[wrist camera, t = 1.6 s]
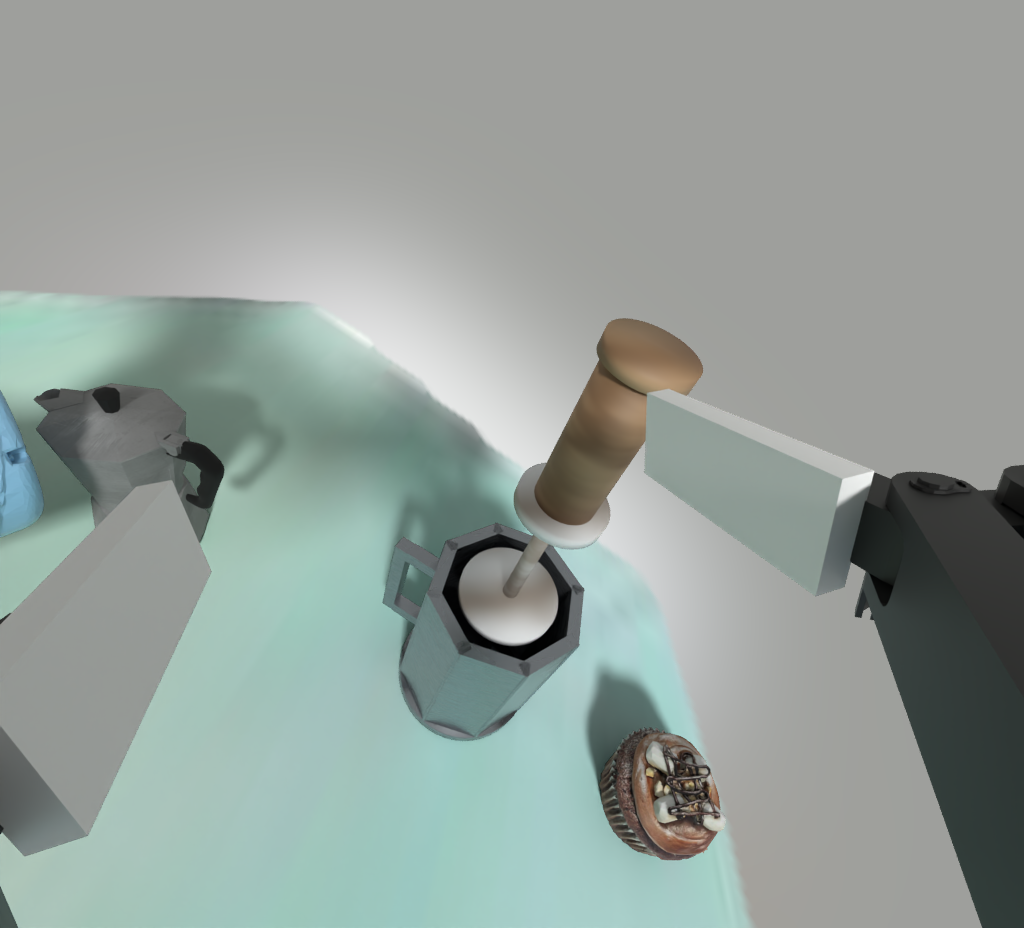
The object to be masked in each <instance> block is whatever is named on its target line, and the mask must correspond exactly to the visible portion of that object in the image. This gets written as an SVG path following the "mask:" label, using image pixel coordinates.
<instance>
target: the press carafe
mask: <svg viewBox="0 0 1024 928" xmlns="http://www.w3.org/2000/svg"><path fill="white" fill-rule="evenodd" d="M531 538H532V536H531V535H529V534H526V533H523V532H520V531H517V530H515V529H512V528H509V527H506V526H503V525H501V524H498V523H495V524H493V525H490V526H487V527H484V528H482V529H479V530H476V531H473V532H470V533H468V534H465V535H462V536H459V537H456V538H454V539H451V540H447V541H446V542H445V544H444V547H443V550H442V553H441V556H440V559H439V558H438V557H436V556H434V555H433V554H431V553H430V552H428V551H426V550H425V549H423V548H422V547H420V546H419V545H417V544H414V543H413V542H411V541H409V540H408V539H406V538H405V537H403V538H402V539H401V540H400V541H399V542H398V544H397V545H396V546H395V549H394V553H393V558H392V562H391V566H390V571H389V575H388V580H387V584H386V589H385V593H384V598H383V602H382V603H383V604H385V605H387V606H388V607H390V608H391V609H392V610H393V611H395V612H396V613H398V614H399V615H401V616H402V617H404V618H405V619H407V620H408V621H410V622H412V623H413V624H415V626H414V628H413V629H412V631H411V632H410V634H409V635H408V637H407V640H406V642H405V644H404V647H403V650H402V653H401V657H400V662H399V682H400V687H401V692H402V694H403V697H404V700H405V702H406V704H407V706H408V708H409V709H410V711H411V712H412V714H413V715H414V716H415V718H416V719H417V720H418V721H419V722H420V723H421V724H422V725H424V726H425V727H426V728H427V729H429V730H430V731H432V732H434V733H435V734H437V735H440V736H442V737H444V738H448V739H452V740H459V741H469V740H476V739H481V738H484V737H486V736H489V735H491V734H493V733H494V732H496V731H498V730H499V729H500V728H502V727H503V726H504V725H505V724H506V723H507V722H508V721H509V720H510V719H511V718H512V717H513V716H514V714H515V713H516V712H517V710H519V709H520V708H521V707H522V706H523V705H524V704H525V703H526V701H527V700H528V699H529V698H530V697H531V696H532V695H533V694H534V693H535V692H536V691H537V690H538V689H539V688H540V687H541V686H542V685H543V684H544V683H545V682H546V680H547V679H548V678H549V677H550V676H551V675H552V674H553V673H554V672H555V671H556V670H557V669H558V668H559V667H560V666H561V665H562V664H563V663H564V662H565V661H566V660H567V658H568V657H569V656H570V655H571V654H572V653H573V652H574V651H575V650H576V649H577V648H578V647H579V636H580V625H581V614H582V604H583V593H584V591H585V590H584V588H583V587H582V586H581V585H580V583H579V582H578V580H577V579H576V578H575V576H574V575H573V574H572V572H571V571H570V569H569V568H568V567H567V565H566V564H565V562H564V561H563V560H562V558H561V557H560V555H559V554H558V553H557V551H556V550H555V549H554V547H553V546H552V545H550V544H548V546H547V547H546V549H545V551H544V552H543V554H542V555H541V557H540V559H539V560H538V562H539V563H540V564H541V565H542V566H543V567H544V568H545V569H546V570H547V572H548V573H549V575H550V576H551V578H552V580H553V582H554V584H555V587H556V590H557V595H558V609H557V614H556V616H555V619H554V621H553V623H552V624H551V626H550V627H549V628H548V629H547V631H546V632H545V633H544V634H543V635H542V636H541V637H540V638H538V639H537V640H535V641H533V642H531V643H529V644H525V645H520V646H507V645H501V644H497V643H495V642H492V641H490V640H488V639H486V638H484V637H483V636H482V635H480V634H479V633H478V632H476V631H475V630H474V629H473V628H472V627H471V625H470V624H469V623H468V622H467V620H466V619H465V617H464V615H463V613H462V611H461V608H460V605H459V601H458V584H459V580H460V577H461V575H462V573H463V570H464V568H465V567H466V565H467V563H468V562H469V561H470V560H471V559H472V558H473V557H474V556H476V555H477V554H479V553H480V552H483V551H485V550H488V549H492V548H511V549H515V550H519V551H521V552H524V550H525V549H526V547H527V545H528V543H529V541H530V540H531ZM410 564H411V565H412V566H414V567H415V568H417V569H419V570H420V571H422V572H423V573H425V574H426V575H428V576H430V577H431V578H433V579H432V581H431V584H430V587H429V590H428V592H426V595H425V597H424V600H423V603H422V606H421V607H419V606H418V605H416V604H415V603H413V602H412V601H410V600H408V599H407V598H405V597H404V596H402V595H401V594H402V590H403V587H404V583H405V579H406V576H407V572H408V569H409V565H410Z"/></svg>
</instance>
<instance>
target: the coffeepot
mask: <svg viewBox="0 0 1024 928" xmlns="http://www.w3.org/2000/svg"><path fill="white" fill-rule="evenodd" d="M34 401H36V402H37V403H38V404H39V405H41V406H42V407H43V408H44V409H46V410H47V411H48V412H49V413H48V414H47V415H46V417H45V418H44V419H43V421H42V422H41V423H40V425H39V426H38V427H37V428H36V430H37V432H38V433H39V434H40V435H41V436H42V437H43V439H44V440H45V441H46V442H47V443H48V444H49V446H50V447H51V448H52V449H53V450H54V452H55V453H56V454H57V455H58V456H59V457H60V459H61V460H62V461H63V462H64V463H65V465H66V466H67V467H68V468H69V469H70V470H71V472H72V473H73V474H74V475H75V476H76V478H77V479H78V480H79V481H80V482H81V483H82V485H83V486H84V487H85V488H86V489H87V490H88V492H89V493H90V494H91V495H92V497H91V503H92V510H93V517H94V523H95V528H96V527H97V526H98V525H99V524H100V523H101V522H102V521H103V520H104V519H105V518H106V517H107V516H108V515H109V514H110V513H111V512H112V511H113V510H114V509H115V508H116V507H117V506H118V505H119V504H120V503H121V502H122V501H123V500H124V499H125V498H126V497H127V496H128V495H129V494H130V493H131V492H132V490H133V489H134V488H135V487H137V486H142V485H148V484H153V483H159V482H164V481H170V480H172V481H173V484H174V486H175V488H176V490H177V493H178V495H179V497H180V500H181V502H182V504H183V507H184V509H185V511H186V514H187V516H188V518H189V520H190V523H191V525H192V527H193V530H194V532H195V534H196V537H197V539H198V541H199V543H200V541H201V538H202V536H203V533H204V531H205V528H206V523H207V521H208V518H209V513H208V512H207V510H206V509H207V508H209V507H210V506H211V505H212V503H213V501H214V498H215V495H216V493H217V490H218V488H219V485H220V482H221V480H222V478H223V475H224V466H223V464H222V463H221V461H220V460H219V459H218V458H217V457H216V456H215V455H214V454H213V453H212V452H211V451H210V450H209V449H208V448H207V447H206V446H204V445H202V444H199V443H195V442H190V441H189V437H186V421H185V415H186V412H185V411H183V410H182V409H181V408H180V407H179V406H178V405H177V404H176V403H175V402H174V401H173V400H172V399H171V398H170V397H169V396H167V395H166V394H165V393H164V392H163V391H162V390H160V389H152V388H144V387H136V386H128V385H120V384H108V385H105V386H101V387H98V388H94V389H91V390H87V391H78V390H69V389H60V390H59V389H51V390H48V391H45V392H44V393H42V395H40V396H36V398H34ZM186 461H189V462H192V463H194V464H195V465H196V466H197V467H198V468H199V469H200V470H201V473H200V480H201V483H200V485H199V486H198V488H197V492H198V495H199V496H198V495H197V494H196V492H195V490H194V489H193V487H192V485H191V484H190V482H189V481H188V479H187V478H186V477H185V476H184V475H183V471H184V468H185V465H186Z"/></svg>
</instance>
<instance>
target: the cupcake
mask: <svg viewBox="0 0 1024 928" xmlns="http://www.w3.org/2000/svg"><path fill="white" fill-rule="evenodd" d="M599 787H600V789H601V792H602V793H601V798H602V804H603V809H604V812H605V815H606V817H607V819H608V821H609V825H610V826H611V827H612V829H613V832H615V833H616V835H617V836H618V837H619V838H620V839H622V841H623V842H624V843H626V844H628V845H629V846H630V847H631V848H632V849H634V850H636V851H638V852H641V853H645V854H648V855H651V856H657V857H659V858H660V859H662V860H682V859H688V858H691V857H693V856H695V855H696V854H699V853H701V852H703V853H704V851H705V850H707V847H708V846H709V844H710V843H711V841H712V840H713V838H714V837H715V836H716V834H717V833H718V831H721V830H723V828H724V826H725V821H726V818H725V815H724V814H723V813H722V812H721V811H720V804H719V796H718V792H717V789H716V786H715V783H714V780H713V777H712V775H711V772H710V768H709V767H708V766H707V764H706V761H705V760H704V758H703V757H702V756H701V754H700V753H699V752H698V751H697V749H696V748H695V747H694V746H693V745H692V744H691V743H690V742H689V741H687V740H686V739H685V738H683V737H681V736H678V735H674V734H671V733H665V732H664V730H662V732H661V733H660V731H659V730H658V729H657V728H656V729H655V730H653V729H652V728H651V727H649V728H648V729H646V728H645V727H644V728H643V730H642V729H639V730H638V732H635V731H633V732H632V733H631V734H628V736H627V737H626V738H625V739H624V738H623V740H622V742H621V744H620V745H619V746H618V748H617V750H616V752H615V753H614V754H613V756H612V757H611V758H610V759H609V760H608V761H607V763H606V764H605V768H604V770H603V772H602V773H601V782H600V784H599Z"/></svg>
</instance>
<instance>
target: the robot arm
mask: <svg viewBox="0 0 1024 928" xmlns="http://www.w3.org/2000/svg"><path fill="white" fill-rule="evenodd" d="M644 472H645V473H646V474H647V475H648V476H650V477H651V478H652V479H654V480H655V481H657V482H658V483H659V484H661V485H662V486H663V487H665V488H666V489H668V490H669V491H670V492H672V493H673V494H674V495H676V496H677V497H679V498H680V499H681V500H683V501H684V502H686V503H687V504H688V505H690V506H691V507H693V508H694V509H695V510H697V511H698V512H699V513H701V514H702V515H704V516H705V517H706V518H708V519H709V520H710V521H712V522H713V523H715V524H716V525H717V526H719V527H720V528H722V529H723V530H725V531H726V532H727V533H728V534H730V535H731V536H733V537H734V538H735V539H737V540H738V541H740V542H741V543H742V544H744V545H745V546H747V547H748V548H749V549H751V550H752V551H753V552H755V553H756V554H758V555H759V556H760V557H762V558H763V559H765V560H766V561H767V562H769V563H770V564H772V565H773V566H774V567H776V568H777V569H778V570H780V571H781V572H783V573H784V574H785V575H787V576H788V577H790V578H791V579H792V580H794V581H795V582H796V583H798V584H799V585H801V586H802V587H803V588H805V589H806V590H808V591H809V592H810V593H812V594H813V595H815V596H819V595H822V594H824V593H827V592H831V591H834V590H837V589H840V588H843V587H845V583H846V579H847V575H848V571H849V568H850V564H851V562H852V563H853V564H855V565H857V566H858V567H860V568H862V569H864V570H865V571H866V573H865V576H864V580H863V584H862V588H861V591H860V594H859V598H858V602H857V605H856V609H855V617H860V618H861V617H862V613H863V610H865V609H867V608H868V607H870V610H871V613H872V614H871V618H870V619H871V620H874V621H875V624H876V627H877V630H878V633H879V635H880V638H881V641H882V644H883V647H884V650H885V653H886V655H887V658H888V661H889V664H890V667H891V670H892V672H893V675H894V678H895V681H896V684H897V687H898V690H899V692H900V695H901V698H902V701H903V703H904V707H905V709H906V712H907V715H908V718H909V721H910V723H911V726H912V729H913V732H914V735H915V738H916V740H917V744H918V746H919V749H920V752H921V755H922V758H923V760H924V763H925V766H926V769H927V772H928V775H929V777H930V780H931V783H932V786H933V789H934V792H935V794H936V798H937V800H938V803H939V806H940V809H941V812H942V815H943V817H944V820H945V823H946V826H947V829H948V832H949V835H950V837H951V840H952V843H953V846H954V849H955V851H956V854H957V857H958V860H959V863H960V866H961V869H962V871H963V874H964V877H965V880H966V883H967V885H968V888H969V891H970V894H971V897H972V900H973V903H974V905H975V908H976V911H977V914H978V917H979V920H980V923H981V925H982V928H1024V465H1019V466H1011V467H1009V468H1006V469H1004V471H1003V474H1002V476H1001V479H1000V482H999V484H998V487H997V489H996V490H984V491H978V490H977V489H976V488H974V487H973V486H971V485H970V484H968V483H967V482H965V481H962V480H958V479H956V478H952V477H948V476H945V475H941V474H936V473H927V472H905V473H900V474H897V475H895V476H894V477H892V479H889V478H887V477H884V476H882V475H880V474H877V473H875V472H874V470H871V469H869V468H866V467H864V466H861V465H859V464H856V463H854V462H851V461H849V460H846V459H844V458H841V457H839V456H836V455H834V454H831V453H829V452H826V451H824V450H821V449H819V448H816V447H814V446H811V445H809V444H806V443H804V442H801V441H799V440H796V439H794V438H791V437H788V436H786V435H783V434H781V433H778V432H776V431H773V430H771V429H768V428H766V427H763V426H761V425H758V424H756V423H753V422H751V421H748V420H746V419H743V418H741V417H738V416H736V415H733V414H731V413H728V412H726V411H723V410H721V409H718V408H716V407H713V406H710V405H708V404H705V403H703V402H700V401H698V400H695V399H693V398H690V397H688V396H685V395H683V394H680V393H678V392H675V391H673V390H670V389H665V390H660V391H654V392H649V393H647V410H646V441H645V471H644ZM43 508H44V499H43V494H42V490H41V486H40V483H39V480H38V477H37V474H36V471H35V468H34V466H33V463H32V461H31V459H30V457H29V455H28V454H27V453H26V447H25V445H24V442H23V439H22V435H21V433H20V430H19V428H18V426H17V424H16V421H15V419H14V417H13V415H12V413H11V410H10V408H9V406H8V404H7V402H6V400H5V398H4V396H3V394H2V392H1V390H0V537H3V536H6V535H8V534H11V533H14V532H16V531H19V530H22V529H24V528H26V527H28V526H30V525H32V524H33V523H34V522H36V521H37V520H38V518H39V517H40V516H41V514H42V512H43ZM211 572H212V571H211V569H210V567H209V564H208V562H207V560H206V557H205V555H204V553H203V550H202V548H201V546H200V544H199V541H198V539H197V537H196V534H195V532H194V530H193V527H192V525H191V523H190V520H189V518H188V516H187V514H186V511H185V509H184V507H183V504H182V502H181V500H180V497H179V495H178V493H177V490H176V488H175V486H174V484H173V481H172V480H170V481H164V482H159V483H153V484H148V485H142V486H137V487H135V488H134V489H133V490H132V492H131V493H130V494H129V495H128V496H127V497H126V498H125V499H124V500H123V501H122V502H121V503H120V504H119V505H118V506H117V507H116V508H115V509H114V510H113V511H112V512H111V513H110V514H109V515H108V516H107V517H106V518H105V519H104V520H103V521H102V522H101V523H100V524H99V525H98V526H97V527H96V528H95V529H94V530H93V531H92V532H91V533H90V534H89V535H88V536H87V537H86V538H85V539H84V540H83V541H82V542H81V543H80V544H79V545H78V546H77V547H76V548H75V549H74V550H73V551H72V552H71V553H70V554H69V555H68V556H67V557H66V558H65V559H64V560H63V561H62V563H61V564H60V565H59V566H58V567H57V568H56V569H55V570H54V571H53V572H52V573H51V574H50V575H49V576H48V577H47V578H46V579H45V580H44V581H43V582H42V583H41V584H40V585H39V586H38V587H37V588H36V589H35V590H34V591H33V592H32V593H31V594H30V595H29V596H28V597H27V598H26V599H25V600H24V601H23V602H22V603H21V604H20V605H19V606H18V607H17V608H16V609H15V610H14V611H13V612H12V613H9V614H8V615H7V616H5V617H4V618H2V619H1V620H0V834H1V833H2V832H3V833H4V835H5V836H6V837H7V838H8V839H9V840H10V841H11V842H12V843H13V844H14V845H15V847H16V848H17V849H18V850H19V851H20V852H21V853H22V854H23V855H24V856H28V855H31V854H34V853H37V852H40V851H43V850H46V849H49V848H52V847H55V846H58V845H61V844H64V843H67V842H70V841H73V840H76V839H79V838H82V837H85V836H88V834H89V832H90V830H91V828H92V826H93V824H94V822H95V819H96V817H97V815H98V813H99V811H100V809H101V807H102V805H103V802H104V800H105V798H106V796H107V794H108V792H109V790H110V787H111V785H112V783H113V781H114V779H115V777H116V775H117V772H118V770H119V768H120V766H121V764H122V762H123V760H124V758H125V755H126V753H127V751H128V749H129V747H130V745H131V743H132V740H133V738H134V736H135V734H136V732H137V730H138V728H139V726H140V723H141V721H142V719H143V717H144V715H145V713H146V711H147V708H148V706H149V704H150V702H151V700H152V698H153V696H154V693H155V691H156V689H157V687H158V685H159V683H160V681H161V679H162V676H163V674H164V672H165V670H166V668H167V666H168V664H169V661H170V659H171V657H172V655H173V653H174V651H175V649H176V647H177V644H178V642H179V640H180V638H181V636H182V634H183V632H184V629H185V627H186V625H187V623H188V621H189V619H190V617H191V614H192V612H193V610H194V608H195V606H196V604H197V602H198V600H199V597H200V595H201V593H202V591H203V589H204V587H205V585H206V582H207V580H208V578H209V576H210V574H211ZM0 928H18V926H17V924H16V922H15V919H14V917H13V915H12V912H11V910H10V908H9V906H8V903H7V901H6V899H5V896H4V894H3V892H2V889H1V887H0Z"/></svg>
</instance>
